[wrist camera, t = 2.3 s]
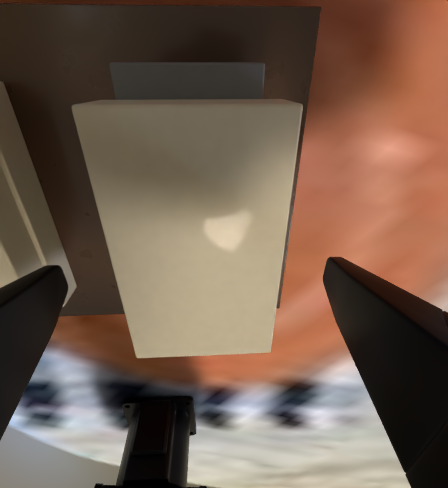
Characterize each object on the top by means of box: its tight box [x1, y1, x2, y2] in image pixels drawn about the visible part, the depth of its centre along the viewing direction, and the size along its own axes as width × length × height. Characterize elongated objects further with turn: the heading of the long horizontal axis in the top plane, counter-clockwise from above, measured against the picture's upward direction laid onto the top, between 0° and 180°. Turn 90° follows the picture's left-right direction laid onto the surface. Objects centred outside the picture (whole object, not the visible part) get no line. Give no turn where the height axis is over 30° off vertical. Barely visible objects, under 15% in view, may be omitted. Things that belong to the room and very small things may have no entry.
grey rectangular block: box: [109, 62, 265, 100], centre depth 13 cm, size 12×5×4 cm, turn 0°
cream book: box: [72, 99, 303, 358], centre depth 10 cm, size 10×6×2 cm, turn 0°
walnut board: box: [0, 3, 321, 316], centre depth 15 cm, size 16×22×1 cm
